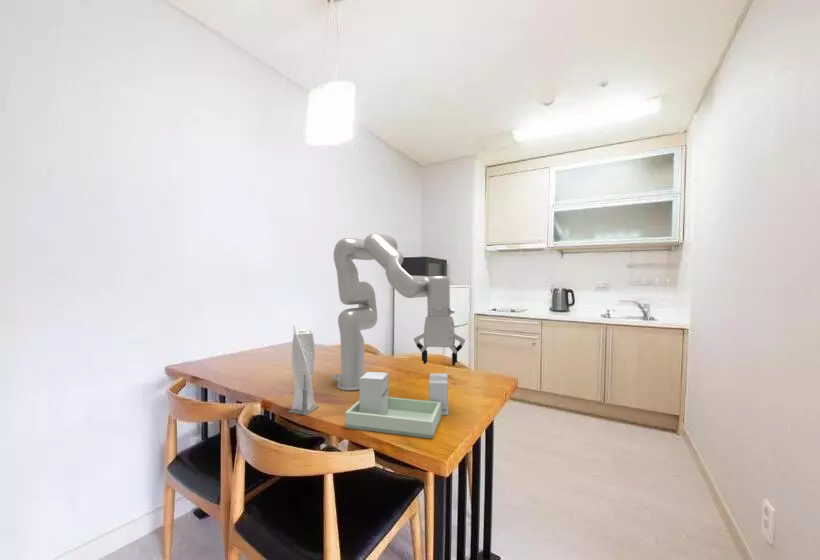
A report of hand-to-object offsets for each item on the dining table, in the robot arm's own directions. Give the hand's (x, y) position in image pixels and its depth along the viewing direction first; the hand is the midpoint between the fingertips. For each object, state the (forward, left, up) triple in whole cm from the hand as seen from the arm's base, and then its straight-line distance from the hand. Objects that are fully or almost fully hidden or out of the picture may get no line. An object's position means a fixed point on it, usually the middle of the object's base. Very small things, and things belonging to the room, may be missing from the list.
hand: (439, 363), depth 109 cm
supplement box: (-18, -13, -14) cm, 27 cm away
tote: (-11, -13, -15) cm, 23 cm away
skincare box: (0, 0, -15) cm, 15 cm away
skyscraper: (-44, -12, -15) cm, 48 cm away
